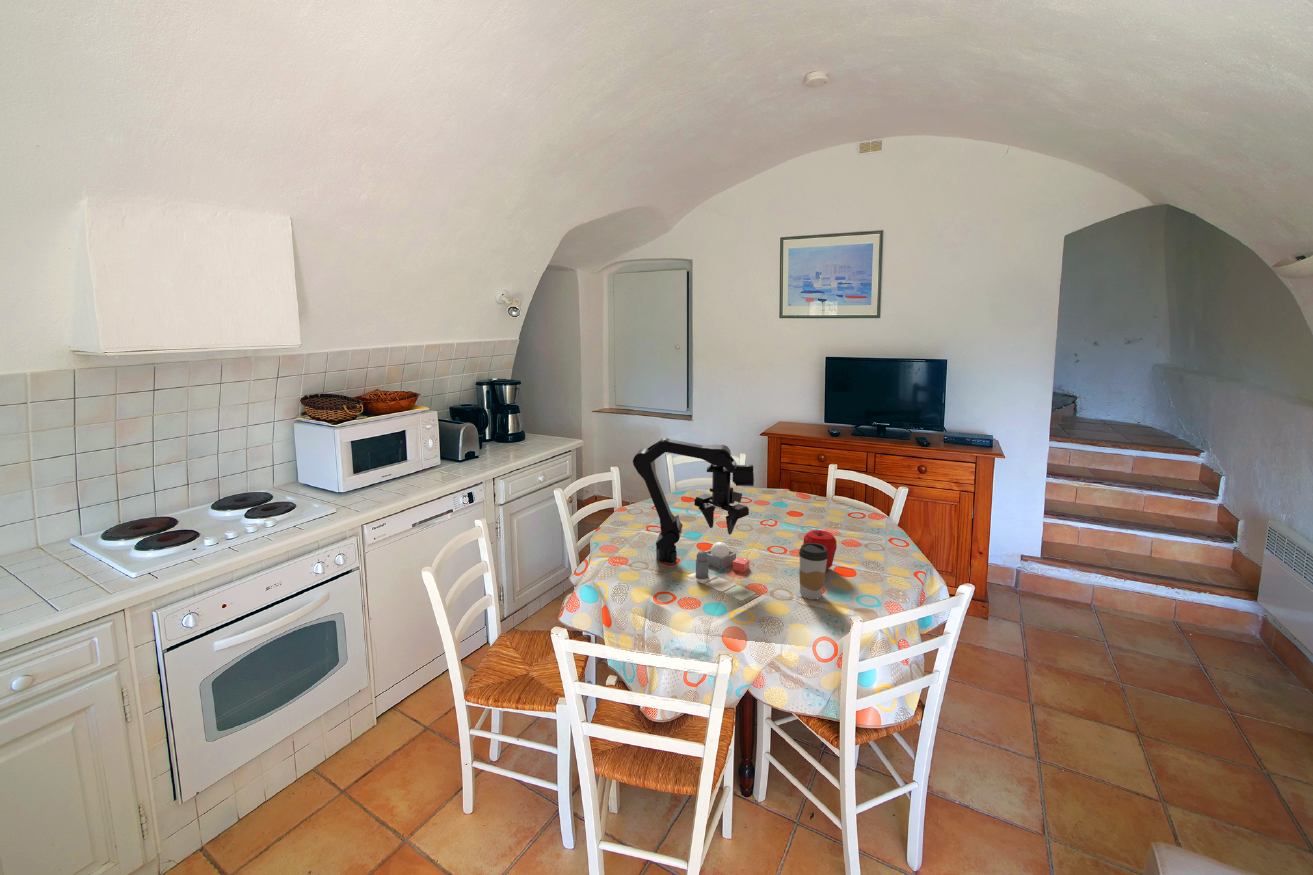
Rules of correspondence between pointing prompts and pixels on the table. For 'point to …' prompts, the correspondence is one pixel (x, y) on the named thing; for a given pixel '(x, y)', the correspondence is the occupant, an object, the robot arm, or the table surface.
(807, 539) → the apple
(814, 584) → the coffee cup
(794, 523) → the table surface
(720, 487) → the robot arm
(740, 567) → the red die
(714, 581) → the game board
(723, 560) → the dome housing
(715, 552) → the dome
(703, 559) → the pawn
